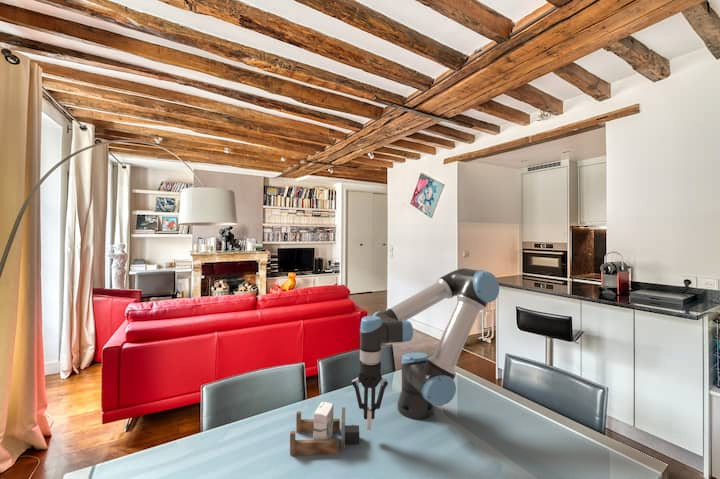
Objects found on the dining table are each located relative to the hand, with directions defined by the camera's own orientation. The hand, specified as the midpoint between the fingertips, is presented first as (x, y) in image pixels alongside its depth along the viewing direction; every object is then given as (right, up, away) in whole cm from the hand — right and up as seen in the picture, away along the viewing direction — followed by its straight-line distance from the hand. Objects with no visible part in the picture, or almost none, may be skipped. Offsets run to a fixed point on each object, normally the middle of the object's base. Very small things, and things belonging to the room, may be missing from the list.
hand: (368, 427), depth 109 cm
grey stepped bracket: (-7, -4, 0) cm, 8 cm away
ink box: (-16, -5, 0) cm, 17 cm away
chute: (-18, -5, 0) cm, 18 cm away
